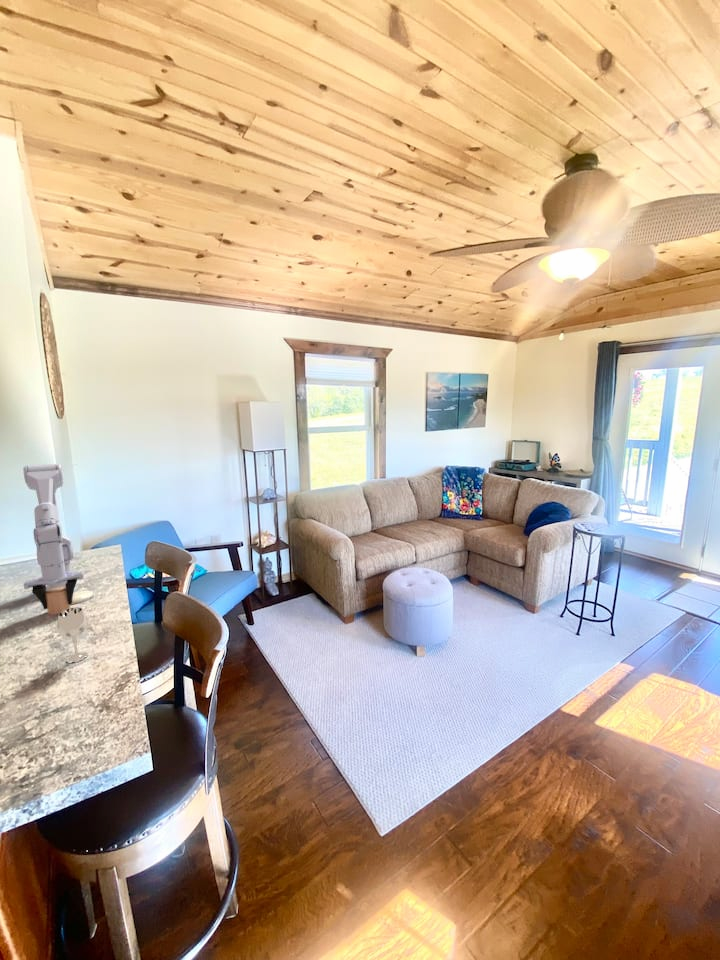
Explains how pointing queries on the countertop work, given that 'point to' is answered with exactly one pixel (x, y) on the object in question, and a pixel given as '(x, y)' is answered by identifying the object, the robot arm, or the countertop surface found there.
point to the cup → (56, 600)
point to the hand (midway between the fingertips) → (58, 605)
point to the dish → (81, 596)
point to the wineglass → (72, 628)
